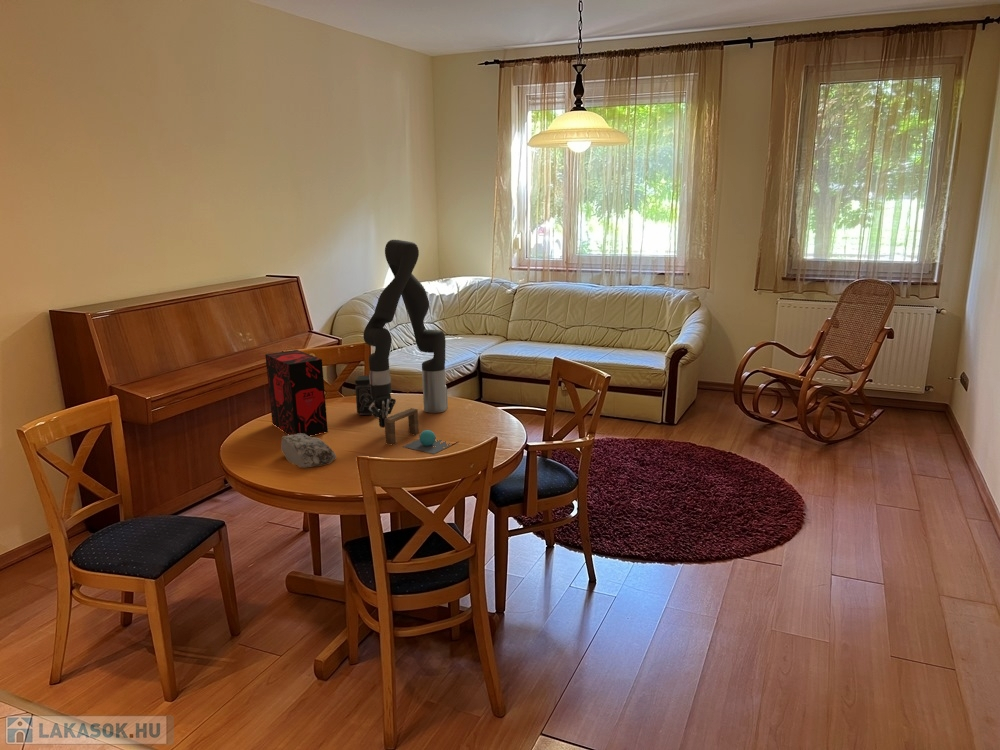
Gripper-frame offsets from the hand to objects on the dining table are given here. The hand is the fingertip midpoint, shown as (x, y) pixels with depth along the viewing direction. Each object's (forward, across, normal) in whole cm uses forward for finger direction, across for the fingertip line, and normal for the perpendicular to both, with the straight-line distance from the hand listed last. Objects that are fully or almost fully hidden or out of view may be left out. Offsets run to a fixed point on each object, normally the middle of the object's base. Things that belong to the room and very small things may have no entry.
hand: (383, 426), depth 255 cm
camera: (+3, -18, -23) cm, 29 cm away
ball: (0, +2, +22) cm, 22 cm away
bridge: (+3, 0, +9) cm, 10 cm away
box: (+3, +12, -32) cm, 35 cm away
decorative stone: (+3, +32, -4) cm, 32 cm away
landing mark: (+3, 0, +22) cm, 23 cm away
